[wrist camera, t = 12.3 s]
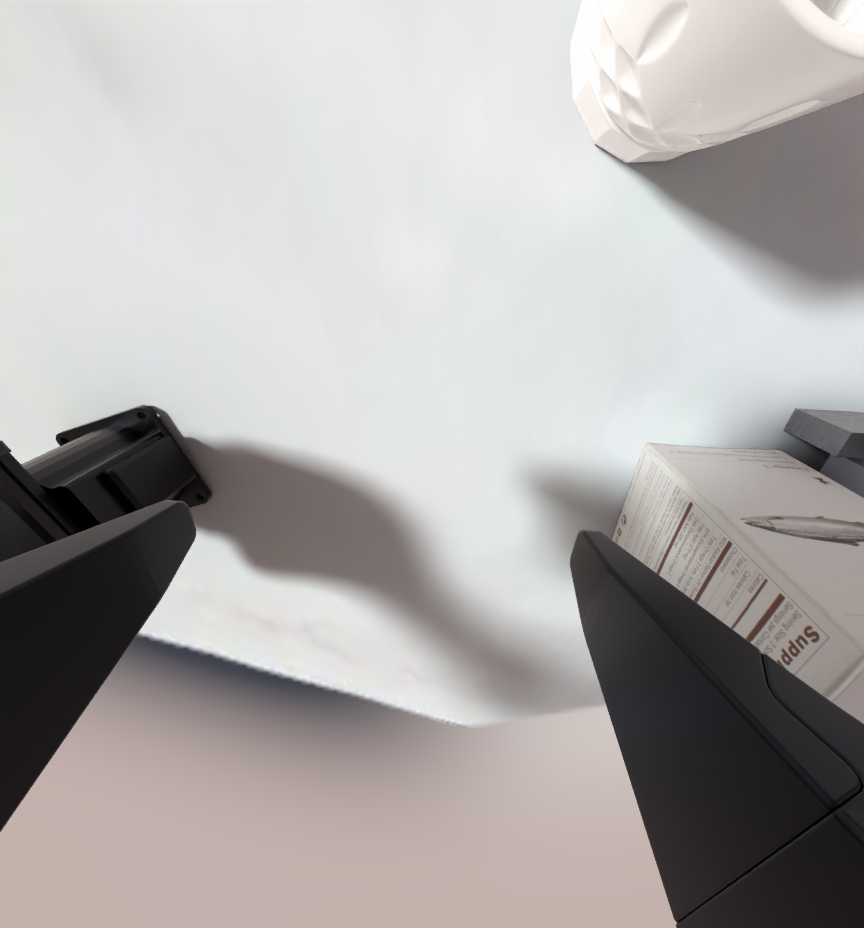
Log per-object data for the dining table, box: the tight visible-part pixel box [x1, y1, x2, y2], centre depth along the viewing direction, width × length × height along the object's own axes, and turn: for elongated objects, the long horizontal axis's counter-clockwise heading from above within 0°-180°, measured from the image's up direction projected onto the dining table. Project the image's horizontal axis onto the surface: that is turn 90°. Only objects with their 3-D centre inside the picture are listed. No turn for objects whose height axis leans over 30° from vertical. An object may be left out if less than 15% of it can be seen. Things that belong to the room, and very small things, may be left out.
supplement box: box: [612, 443, 864, 724], centre depth 16 cm, size 7×7×13 cm
